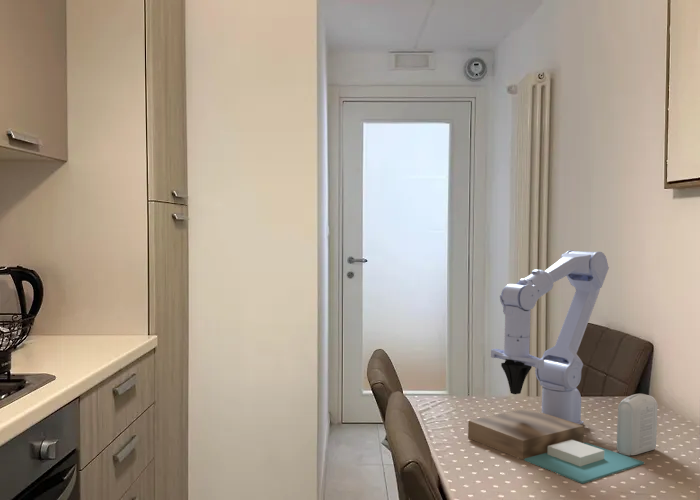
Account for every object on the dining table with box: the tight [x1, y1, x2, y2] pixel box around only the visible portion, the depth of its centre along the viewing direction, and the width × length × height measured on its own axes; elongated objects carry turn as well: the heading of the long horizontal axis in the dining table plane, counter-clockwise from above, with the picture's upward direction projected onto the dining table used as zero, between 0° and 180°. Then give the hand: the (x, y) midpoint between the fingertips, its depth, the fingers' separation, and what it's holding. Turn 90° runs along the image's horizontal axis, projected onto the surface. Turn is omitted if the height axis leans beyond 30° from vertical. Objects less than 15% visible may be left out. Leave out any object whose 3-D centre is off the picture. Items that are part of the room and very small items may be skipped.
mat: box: [524, 442, 645, 484], centre depth 131 cm, size 20×14×1 cm
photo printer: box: [616, 393, 659, 457], centre depth 138 cm, size 10×4×12 cm, turn 123°
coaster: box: [547, 440, 604, 466], centre depth 133 cm, size 8×8×2 cm
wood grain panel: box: [467, 407, 585, 460], centre depth 144 cm, size 20×16×4 cm
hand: (515, 393), depth 149 cm, fingers closed
